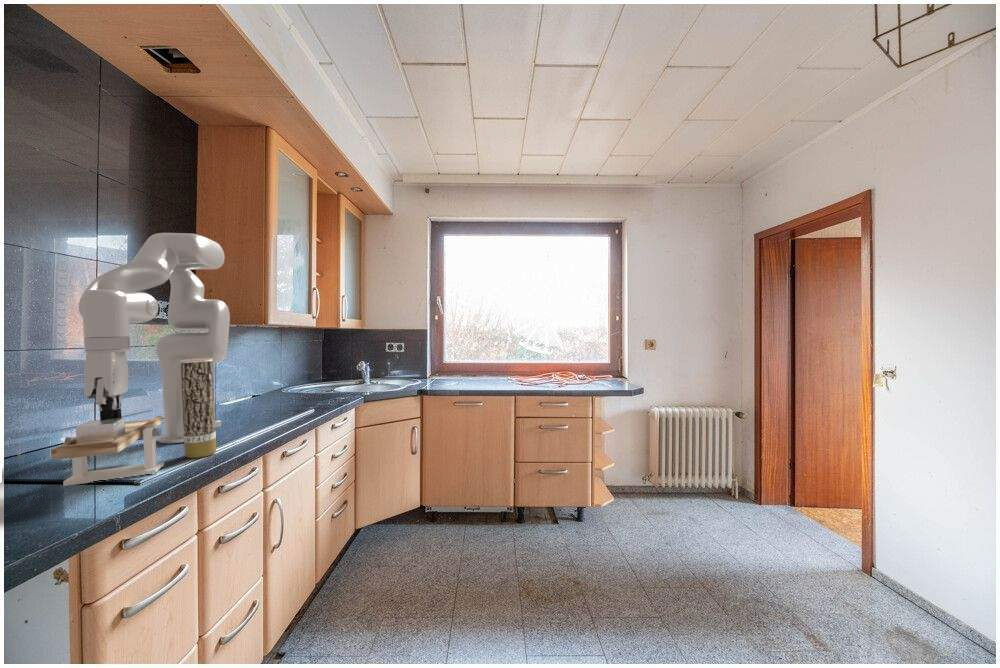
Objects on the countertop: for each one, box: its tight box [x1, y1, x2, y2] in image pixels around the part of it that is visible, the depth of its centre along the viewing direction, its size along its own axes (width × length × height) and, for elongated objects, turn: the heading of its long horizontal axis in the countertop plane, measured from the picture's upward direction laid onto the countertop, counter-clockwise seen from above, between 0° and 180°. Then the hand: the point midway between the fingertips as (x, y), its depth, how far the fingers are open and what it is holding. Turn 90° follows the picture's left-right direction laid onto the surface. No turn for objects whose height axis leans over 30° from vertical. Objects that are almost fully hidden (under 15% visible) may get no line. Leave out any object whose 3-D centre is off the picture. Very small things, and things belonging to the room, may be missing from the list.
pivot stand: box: [63, 427, 165, 487], centre depth 98 cm, size 6×17×10 cm, turn 114°
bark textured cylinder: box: [181, 358, 217, 459], centre depth 112 cm, size 7×7×25 cm
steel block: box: [75, 417, 126, 444], centre depth 92 cm, size 6×6×4 cm
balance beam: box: [50, 415, 162, 461], centre depth 98 cm, size 28×10×5 cm, turn 24°
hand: (111, 427), depth 97 cm, fingers closed
